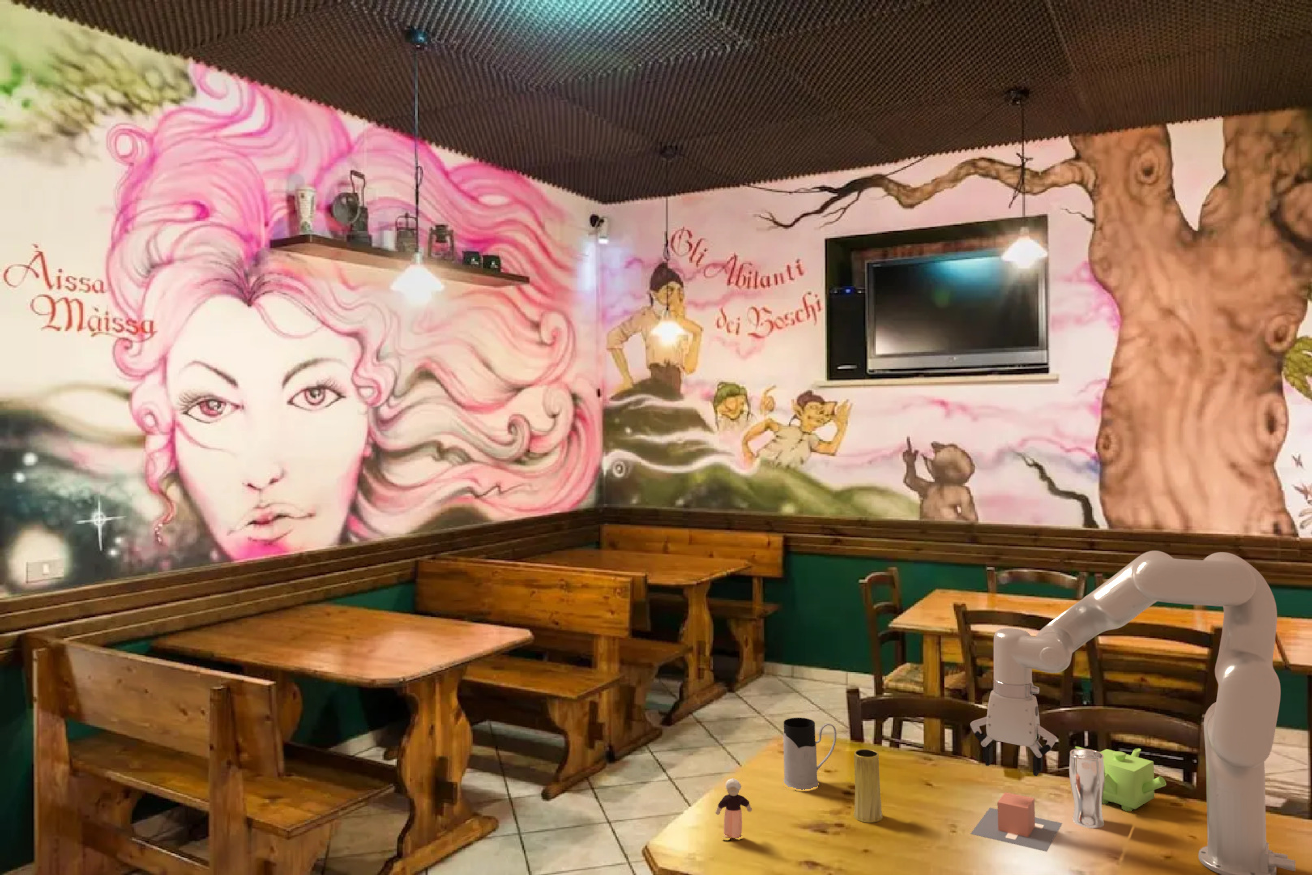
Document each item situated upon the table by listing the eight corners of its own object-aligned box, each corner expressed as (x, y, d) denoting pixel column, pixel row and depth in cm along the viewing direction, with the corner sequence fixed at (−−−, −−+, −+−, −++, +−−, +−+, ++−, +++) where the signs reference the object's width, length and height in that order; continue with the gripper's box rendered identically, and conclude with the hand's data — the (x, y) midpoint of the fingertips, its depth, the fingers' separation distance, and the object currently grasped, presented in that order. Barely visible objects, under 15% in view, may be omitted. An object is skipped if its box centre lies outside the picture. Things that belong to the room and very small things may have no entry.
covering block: (1035, 826, 193) (1034, 798, 192) (1028, 837, 188) (1027, 808, 188) (1005, 819, 196) (1005, 792, 196) (998, 830, 191) (997, 802, 191)
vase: (850, 820, 199) (849, 755, 199) (858, 809, 204) (856, 746, 204) (878, 825, 196) (876, 759, 196) (885, 813, 202) (883, 750, 201)
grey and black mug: (776, 780, 222) (774, 719, 222) (828, 771, 227) (826, 712, 226) (792, 793, 214) (790, 730, 214) (846, 784, 218) (844, 722, 218)
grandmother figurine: (720, 844, 189) (719, 784, 189) (714, 836, 193) (713, 777, 193) (755, 839, 191) (753, 779, 191) (748, 831, 195) (746, 772, 195)
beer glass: (1110, 831, 190) (1109, 760, 190) (1074, 829, 191) (1073, 759, 191) (1101, 817, 197) (1099, 748, 196) (1066, 815, 198) (1065, 747, 198)
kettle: (1075, 788, 212) (1074, 740, 212) (1138, 789, 211) (1137, 741, 211) (1100, 815, 197) (1099, 764, 197) (1168, 816, 196) (1167, 765, 196)
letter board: (1062, 824, 194) (1062, 822, 194) (1046, 853, 181) (1046, 851, 181) (989, 809, 202) (989, 807, 202) (970, 835, 190) (970, 833, 190)
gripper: (1060, 690, 189) (1060, 771, 190) (975, 677, 199) (975, 754, 200) (1052, 700, 183) (1052, 784, 184) (965, 686, 193) (965, 765, 194)
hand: (1012, 768), depth 192 cm, fingers open, 9 cm apart
